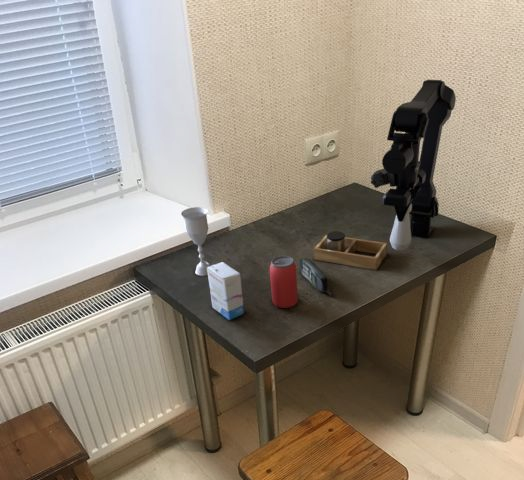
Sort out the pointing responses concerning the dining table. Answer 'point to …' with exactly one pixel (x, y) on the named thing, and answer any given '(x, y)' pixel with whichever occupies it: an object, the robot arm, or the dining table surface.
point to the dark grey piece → (314, 275)
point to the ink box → (225, 290)
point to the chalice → (197, 233)
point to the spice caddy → (352, 253)
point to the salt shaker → (401, 232)
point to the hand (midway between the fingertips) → (402, 217)
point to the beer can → (283, 282)
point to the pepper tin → (336, 241)
